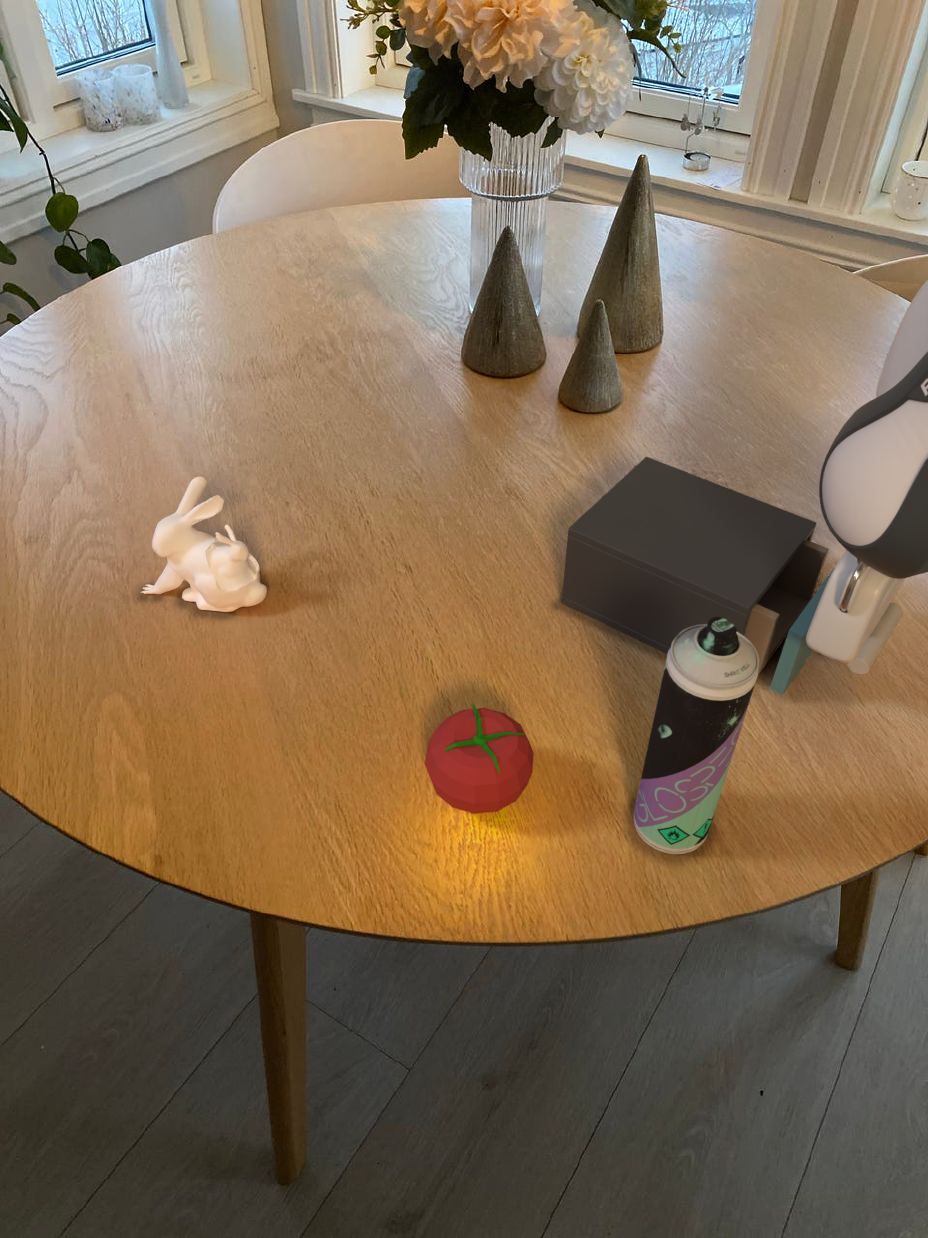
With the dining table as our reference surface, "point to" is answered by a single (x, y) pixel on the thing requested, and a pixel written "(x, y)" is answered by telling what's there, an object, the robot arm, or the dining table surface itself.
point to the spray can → (694, 734)
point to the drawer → (803, 619)
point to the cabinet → (675, 554)
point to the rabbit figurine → (205, 558)
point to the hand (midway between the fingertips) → (855, 630)
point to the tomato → (479, 760)
